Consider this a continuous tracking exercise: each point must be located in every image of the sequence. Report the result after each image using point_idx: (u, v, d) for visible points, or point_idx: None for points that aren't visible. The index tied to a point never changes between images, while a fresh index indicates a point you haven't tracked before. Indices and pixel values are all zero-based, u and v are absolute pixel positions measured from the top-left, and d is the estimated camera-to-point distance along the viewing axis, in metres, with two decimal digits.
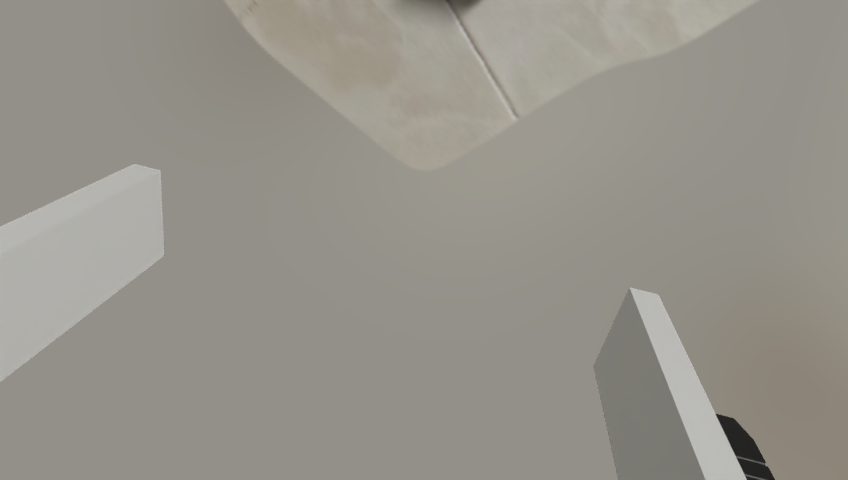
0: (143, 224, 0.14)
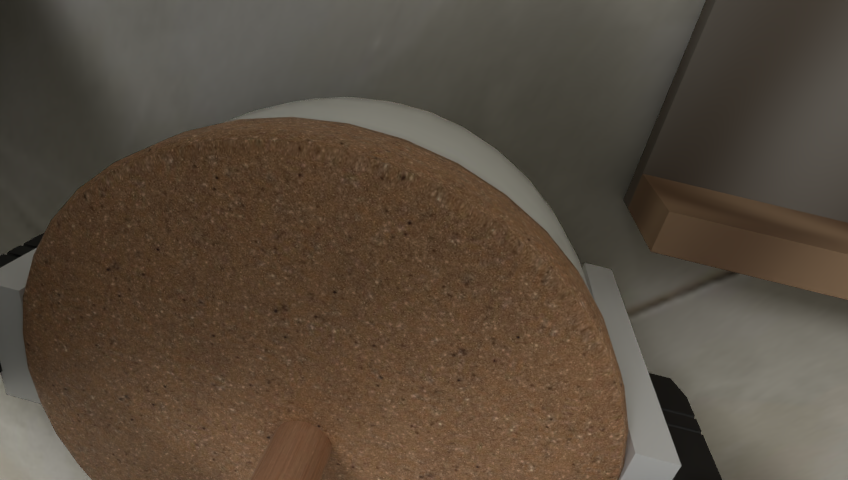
0: None
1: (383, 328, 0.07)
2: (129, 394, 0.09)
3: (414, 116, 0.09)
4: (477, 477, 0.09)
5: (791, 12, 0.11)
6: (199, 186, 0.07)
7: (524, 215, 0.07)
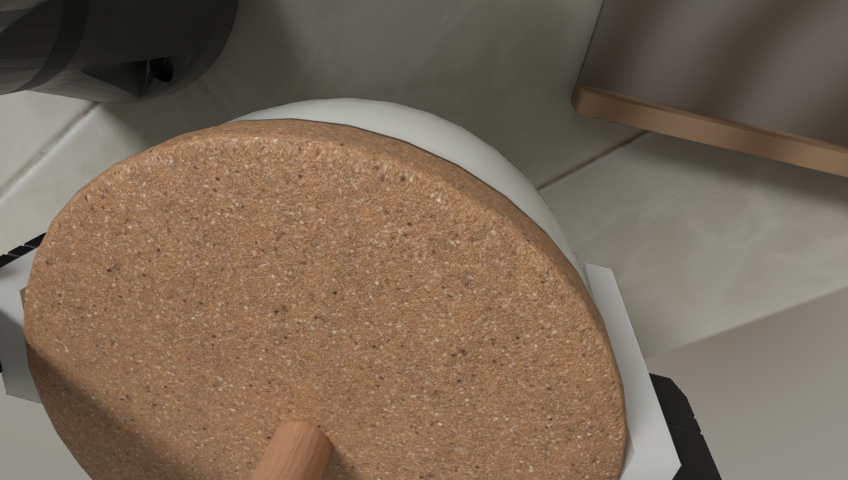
0: None
1: (383, 329, 0.07)
2: (130, 394, 0.09)
3: (414, 117, 0.09)
4: (477, 478, 0.09)
5: (641, 2, 0.24)
6: (200, 188, 0.07)
7: (524, 216, 0.07)
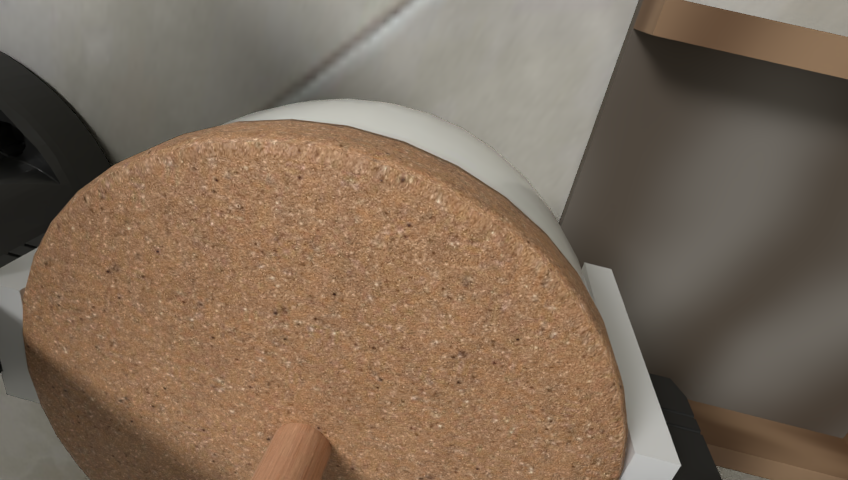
0: None
1: (383, 330, 0.07)
2: (129, 396, 0.09)
3: (414, 118, 0.09)
4: (477, 479, 0.09)
5: None
6: (199, 188, 0.07)
7: (524, 217, 0.07)
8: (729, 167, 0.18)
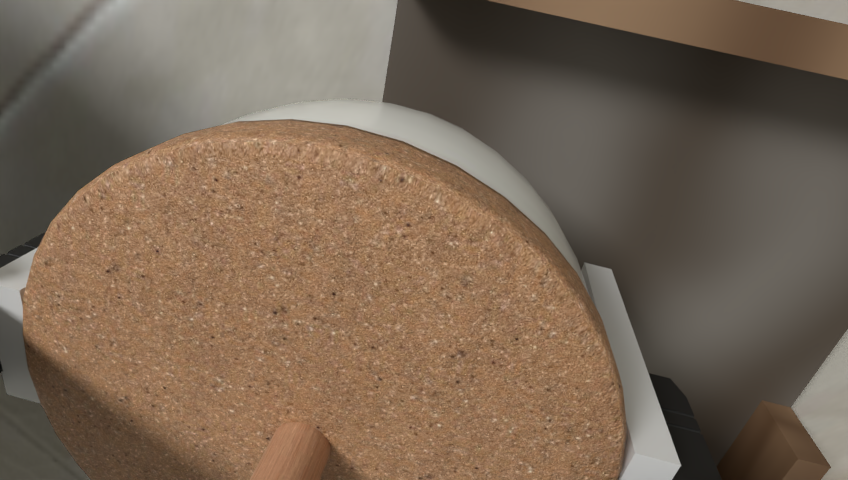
0: None
1: (382, 330, 0.07)
2: (129, 395, 0.09)
3: (413, 118, 0.09)
4: (476, 479, 0.09)
5: None
6: (198, 188, 0.07)
7: (523, 217, 0.07)
8: (541, 149, 0.15)
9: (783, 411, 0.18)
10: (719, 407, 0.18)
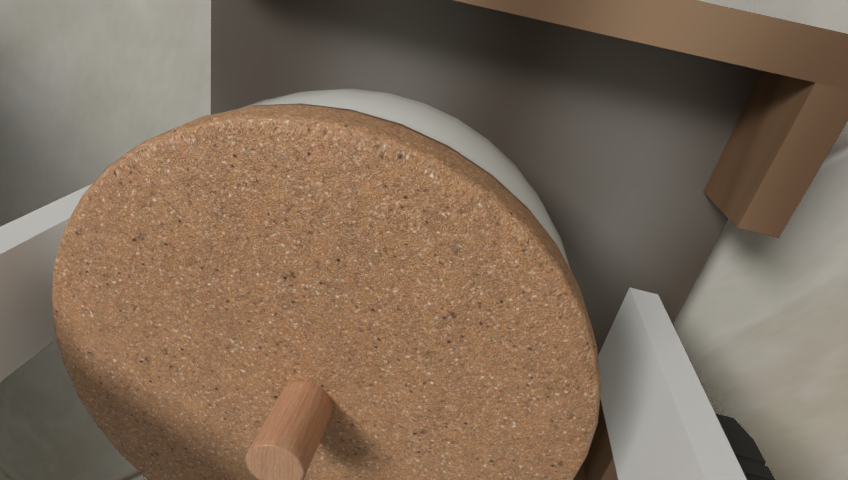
0: None
1: (381, 293, 0.08)
2: (149, 357, 0.10)
3: (411, 106, 0.10)
4: (465, 434, 0.09)
5: None
6: (219, 163, 0.08)
7: (508, 193, 0.08)
8: None
9: None
10: None
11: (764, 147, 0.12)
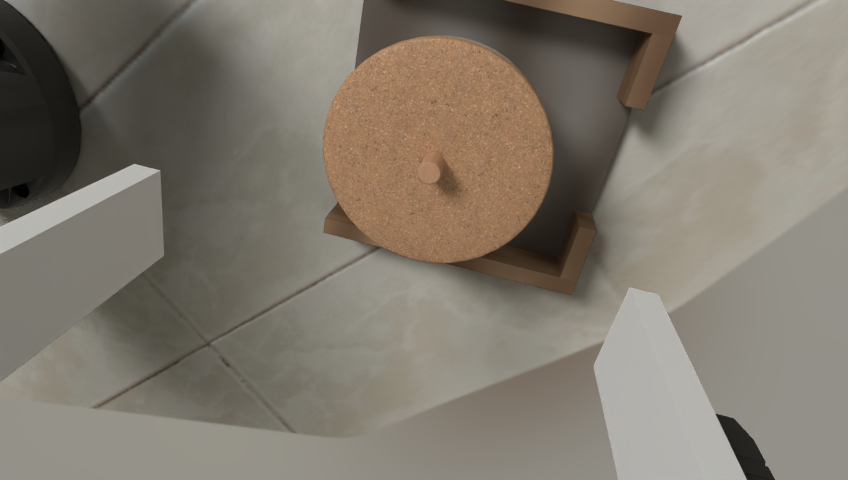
0: (143, 224, 0.14)
1: (469, 107, 0.22)
2: (367, 145, 0.24)
3: (476, 41, 0.24)
4: (499, 173, 0.23)
5: None
6: (412, 56, 0.22)
7: (517, 68, 0.22)
8: None
9: (585, 214, 0.31)
10: (553, 215, 0.32)
11: (636, 66, 0.26)
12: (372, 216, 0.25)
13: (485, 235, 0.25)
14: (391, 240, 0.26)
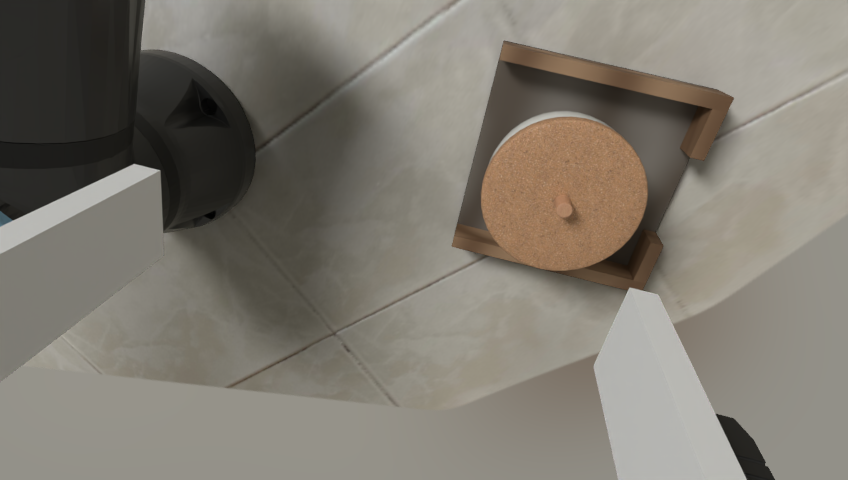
0: (143, 224, 0.14)
1: (592, 165, 0.32)
2: (515, 189, 0.34)
3: (591, 116, 0.34)
4: (609, 209, 0.33)
5: None
6: (555, 131, 0.32)
7: None
8: None
9: (651, 232, 0.42)
10: None
11: (698, 129, 0.36)
12: (512, 237, 0.35)
13: (594, 251, 0.35)
14: (524, 254, 0.36)
